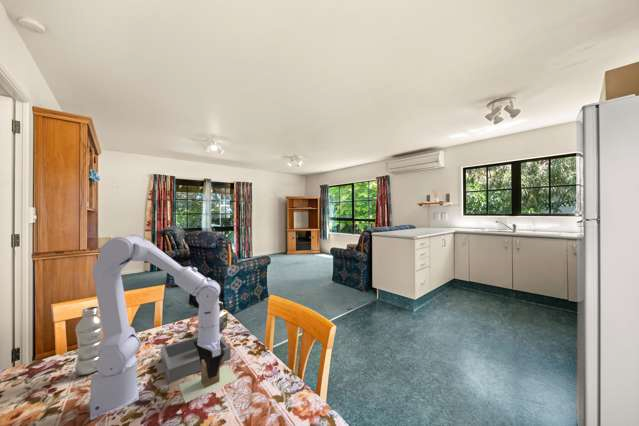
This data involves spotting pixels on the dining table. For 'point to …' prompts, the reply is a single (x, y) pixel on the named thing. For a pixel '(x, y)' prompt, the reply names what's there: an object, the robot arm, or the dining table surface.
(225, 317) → the medicine bottle
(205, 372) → the walnut block
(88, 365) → the plastic bottle
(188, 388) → the board
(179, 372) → the bin
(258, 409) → the dining table surface
